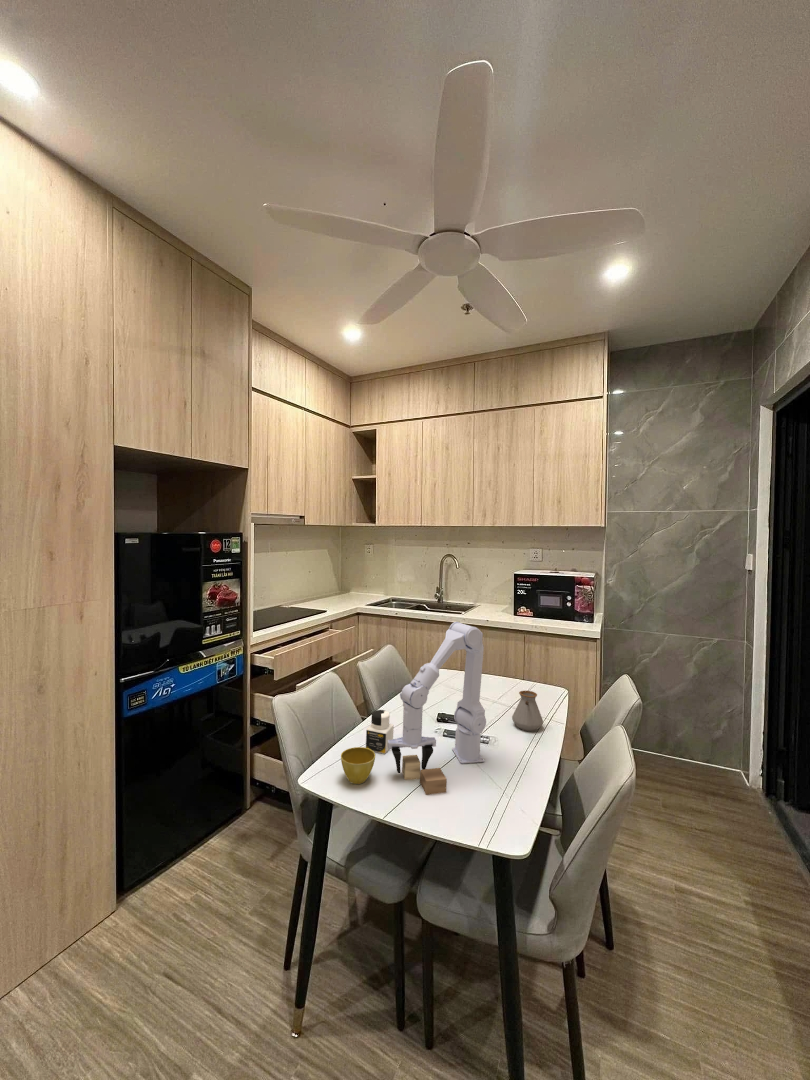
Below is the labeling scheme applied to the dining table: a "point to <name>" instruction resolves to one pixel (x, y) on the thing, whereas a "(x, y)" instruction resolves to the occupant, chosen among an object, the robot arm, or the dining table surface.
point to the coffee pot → (527, 712)
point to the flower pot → (357, 764)
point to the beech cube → (411, 767)
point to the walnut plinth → (433, 781)
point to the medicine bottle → (379, 732)
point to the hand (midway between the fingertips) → (410, 770)
